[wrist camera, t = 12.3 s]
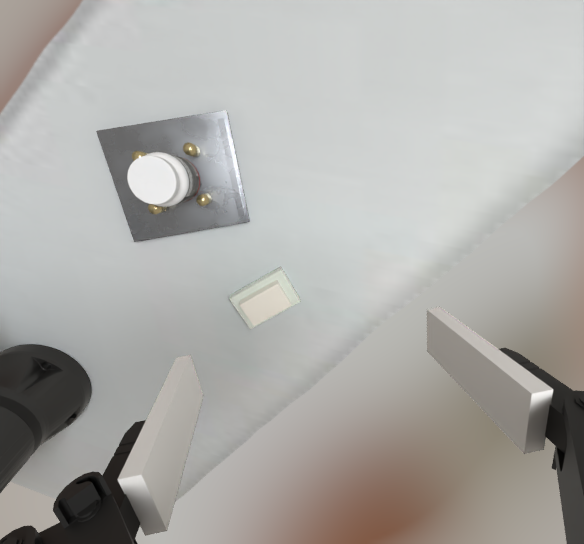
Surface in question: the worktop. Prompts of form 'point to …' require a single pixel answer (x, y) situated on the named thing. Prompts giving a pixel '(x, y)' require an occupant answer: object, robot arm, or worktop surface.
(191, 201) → the plate
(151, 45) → the worktop surface
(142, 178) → the pill bottle
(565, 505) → the robot arm
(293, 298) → the soap dish
